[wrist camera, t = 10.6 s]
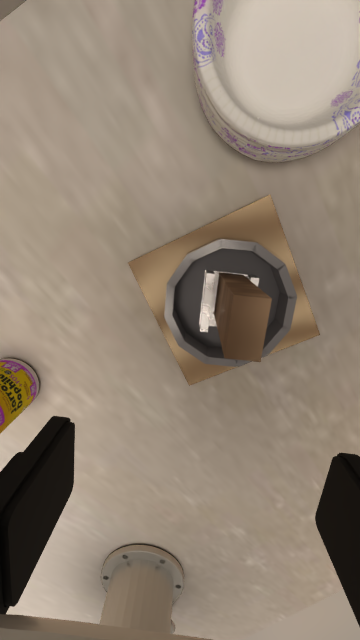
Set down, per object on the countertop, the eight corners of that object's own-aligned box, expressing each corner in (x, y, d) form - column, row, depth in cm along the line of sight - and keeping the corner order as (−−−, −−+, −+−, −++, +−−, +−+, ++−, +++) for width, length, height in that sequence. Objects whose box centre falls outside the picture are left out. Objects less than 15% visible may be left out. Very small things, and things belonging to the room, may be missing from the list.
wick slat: (243, 274, 30) (271, 298, 19) (236, 316, 32) (260, 361, 20) (219, 272, 31) (233, 295, 19) (213, 313, 32) (224, 358, 20)
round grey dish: (295, 245, 30) (307, 247, 27) (273, 358, 34) (281, 371, 30) (173, 234, 30) (170, 234, 27) (164, 346, 34) (160, 359, 31)
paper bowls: (186, -13, 25) (181, -121, 18) (369, -43, 24) (450, -172, 16) (199, 179, 29) (200, 159, 22) (356, 161, 28) (415, 134, 21)
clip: (254, 274, 31) (259, 278, 28) (246, 329, 32) (250, 336, 30) (205, 270, 31) (206, 273, 28) (199, 324, 32) (199, 331, 30)
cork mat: (317, 333, 33) (320, 334, 33) (189, 383, 36) (189, 385, 35) (268, 195, 29) (270, 194, 29) (129, 262, 32) (127, 262, 31)
